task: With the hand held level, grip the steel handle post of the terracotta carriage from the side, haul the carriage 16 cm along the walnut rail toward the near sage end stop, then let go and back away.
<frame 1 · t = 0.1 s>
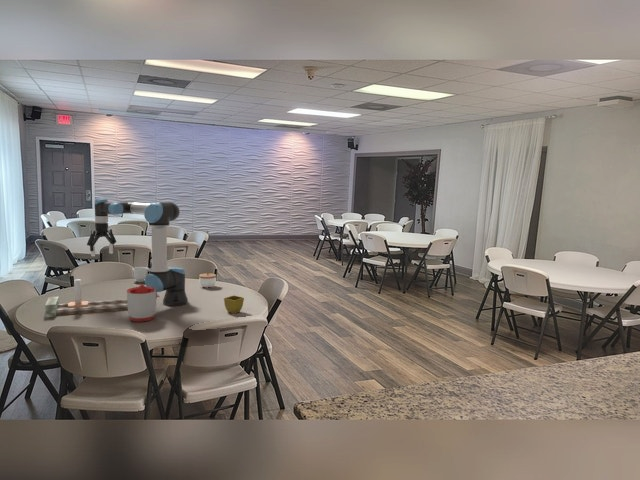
hand: (102, 254, 281), 28 cm above the table, tool pointing down, fingers open, 13 cm apart
rail: (93, 309, 256), on the table
flower pot: (233, 312, 263), on the table
citrus juicer: (143, 319, 243), on the table
lidded bowl: (207, 287, 322), on the table
carriage: (78, 293, 252), point 10 cm above the table, slide at 0.0 cm
teacup: (142, 281, 331), on the table
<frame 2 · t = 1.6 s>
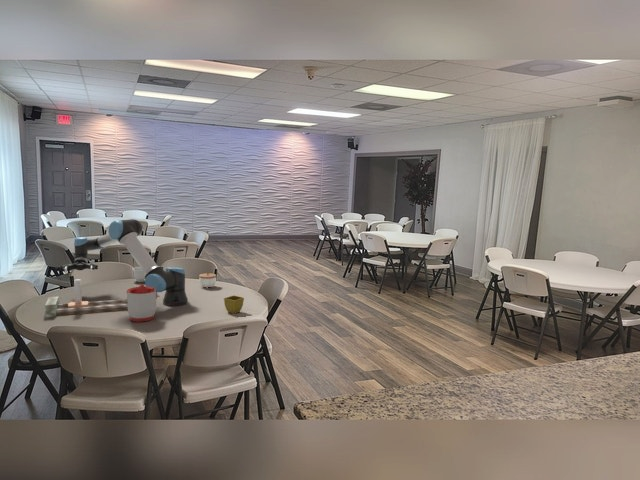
hand: (78, 270, 259), 22 cm above the table, tool horizontal, fingers open, 13 cm apart
nothing on the table moved.
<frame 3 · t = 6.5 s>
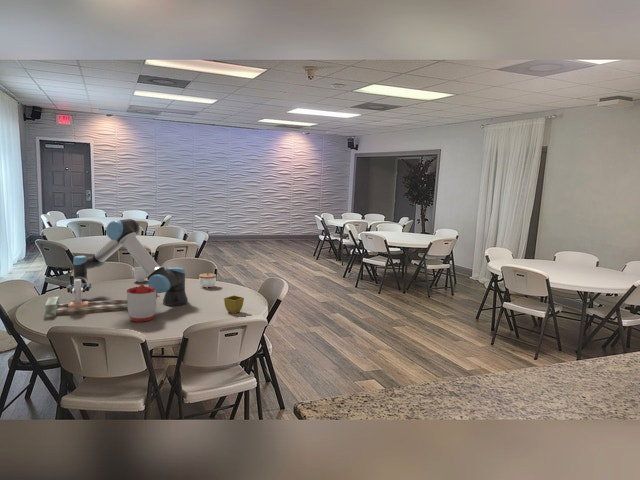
hand: (77, 292, 247), 12 cm above the table, tool horizontal, fingers closed on carriage, 4 cm apart
carriage: (78, 293, 252), point 10 cm above the table, slide at 0.0 cm, touching gripper
everything else where it was.
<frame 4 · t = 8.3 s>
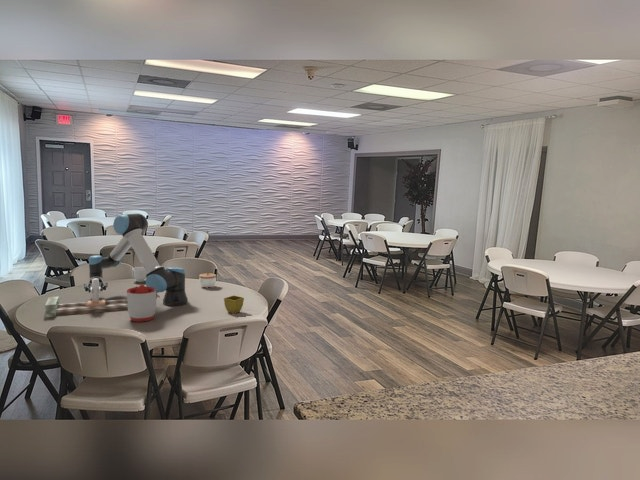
hand: (95, 291, 251), 12 cm above the table, tool horizontal, fingers closed on carriage, 4 cm apart
carriage: (95, 292, 256), point 10 cm above the table, slide at 9.2 cm, touching gripper
everything else where it was.
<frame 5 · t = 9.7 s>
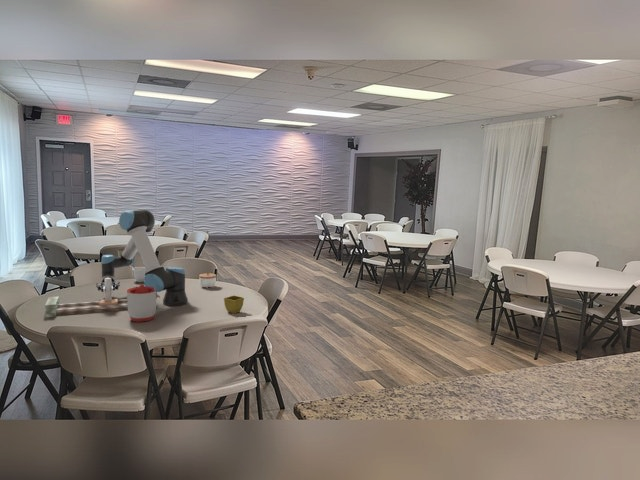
hand: (108, 291, 254), 12 cm above the table, tool horizontal, fingers closed on carriage, 4 cm apart
carriage: (108, 291, 259), point 10 cm above the table, slide at 15.9 cm, touching gripper
everything else where it was.
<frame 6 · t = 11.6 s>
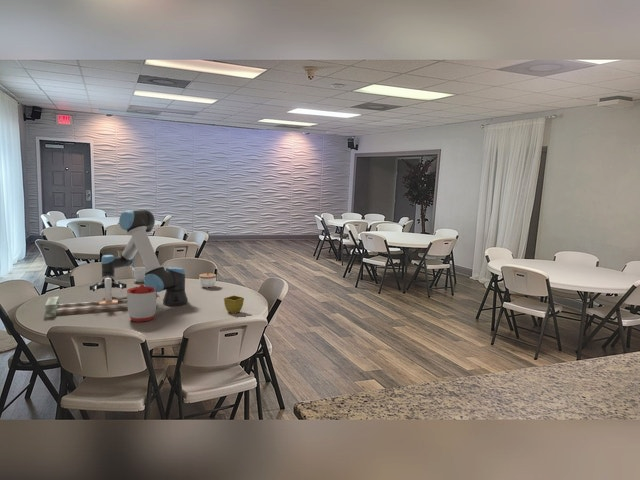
hand: (108, 290, 255), 12 cm above the table, tool horizontal, fingers open, 13 cm apart
carriage: (108, 291, 259), point 10 cm above the table, slide at 15.9 cm
everything else where it was.
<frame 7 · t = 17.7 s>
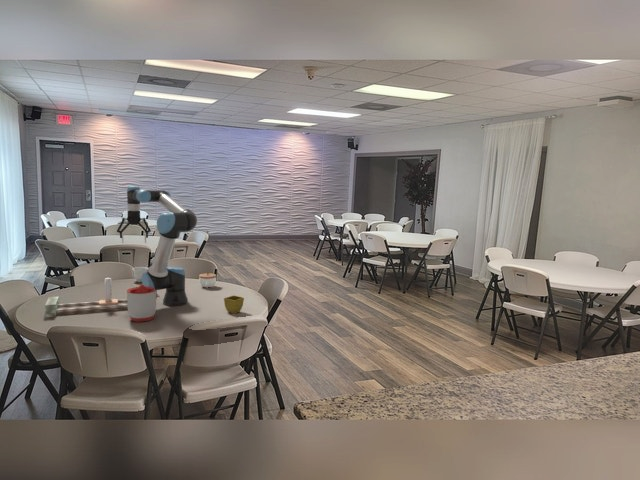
hand: (134, 242, 280), 37 cm above the table, tool pointing down, fingers open, 13 cm apart
nothing on the table moved.
at the end: carriage slide at 15.9 cm; the gripper is holding nothing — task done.
